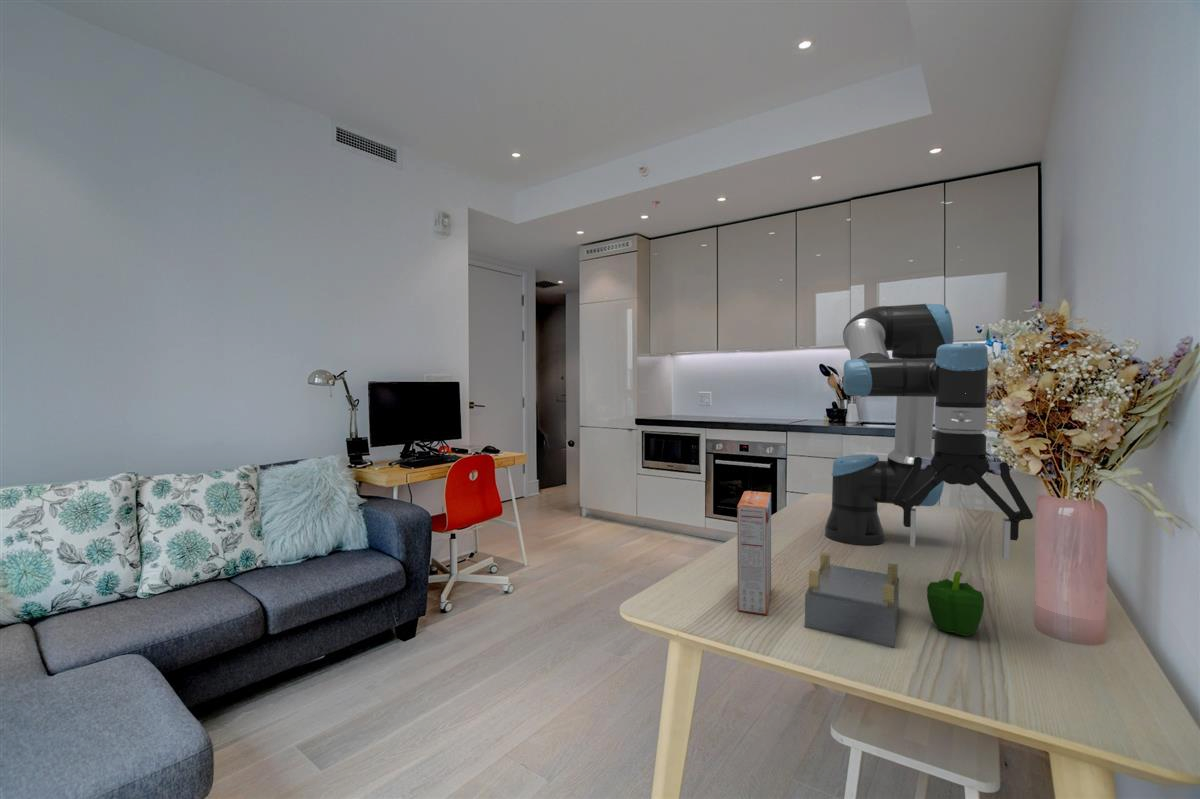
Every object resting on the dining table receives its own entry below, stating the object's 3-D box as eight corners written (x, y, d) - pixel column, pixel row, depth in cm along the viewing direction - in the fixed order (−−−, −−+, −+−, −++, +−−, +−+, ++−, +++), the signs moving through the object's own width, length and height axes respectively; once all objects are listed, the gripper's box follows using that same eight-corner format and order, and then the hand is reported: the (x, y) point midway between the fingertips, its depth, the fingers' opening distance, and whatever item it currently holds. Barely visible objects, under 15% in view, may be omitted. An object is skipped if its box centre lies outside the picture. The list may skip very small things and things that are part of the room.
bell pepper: (963, 645, 88) (965, 586, 88) (917, 624, 96) (918, 570, 96) (994, 635, 92) (996, 578, 91) (947, 616, 99) (948, 564, 99)
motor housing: (824, 588, 113) (824, 545, 112) (899, 602, 105) (900, 557, 105) (804, 626, 95) (805, 576, 95) (893, 647, 87) (894, 592, 87)
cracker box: (742, 585, 114) (743, 489, 114) (771, 589, 112) (772, 491, 111) (734, 611, 101) (735, 503, 100) (767, 616, 99) (769, 506, 98)
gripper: (878, 429, 96) (876, 545, 96) (1057, 436, 83) (1053, 570, 83) (881, 427, 102) (879, 535, 103) (1047, 433, 89) (1044, 557, 90)
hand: (957, 551), depth 93 cm, fingers open, 13 cm apart
